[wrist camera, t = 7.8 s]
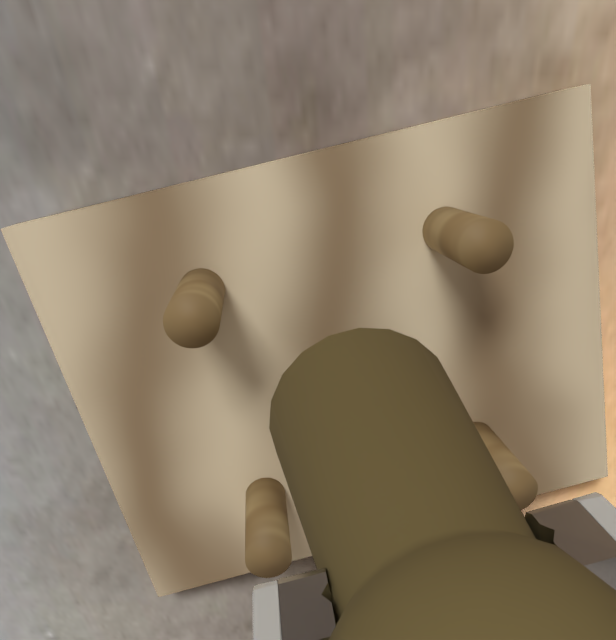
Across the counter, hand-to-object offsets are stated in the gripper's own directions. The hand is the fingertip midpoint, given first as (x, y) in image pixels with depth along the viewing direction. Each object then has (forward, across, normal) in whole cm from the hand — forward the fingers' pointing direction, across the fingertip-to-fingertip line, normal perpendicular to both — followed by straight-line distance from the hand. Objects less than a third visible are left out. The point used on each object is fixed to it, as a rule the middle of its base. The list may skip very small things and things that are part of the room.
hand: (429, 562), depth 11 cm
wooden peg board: (+11, 0, 0) cm, 11 cm away
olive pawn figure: (+6, 0, 0) cm, 6 cm away
